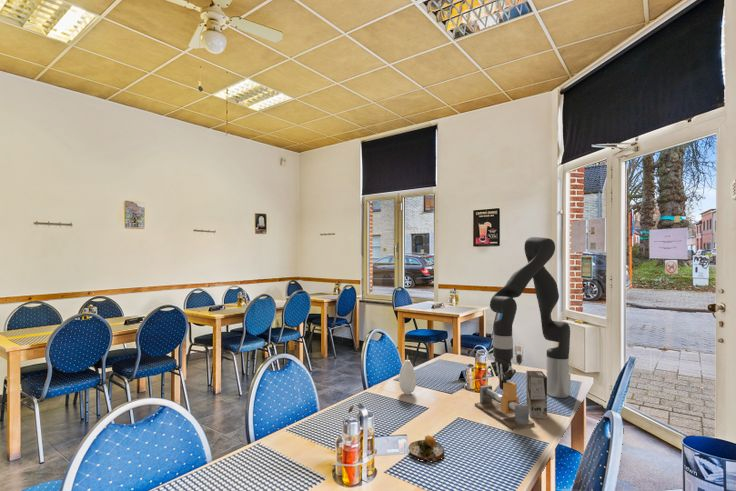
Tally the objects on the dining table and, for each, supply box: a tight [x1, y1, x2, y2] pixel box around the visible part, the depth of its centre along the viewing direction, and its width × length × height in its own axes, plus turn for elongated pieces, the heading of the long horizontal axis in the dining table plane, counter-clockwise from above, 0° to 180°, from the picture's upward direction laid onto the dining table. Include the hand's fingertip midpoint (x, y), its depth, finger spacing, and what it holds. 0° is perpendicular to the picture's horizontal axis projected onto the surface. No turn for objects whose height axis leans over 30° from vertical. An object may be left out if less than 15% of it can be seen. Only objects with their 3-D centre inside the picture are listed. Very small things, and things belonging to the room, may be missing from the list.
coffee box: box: [525, 370, 548, 419], centre depth 166 cm, size 9×6×16 cm
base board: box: [474, 399, 535, 431], centre depth 164 cm, size 24×10×1 cm, turn 20°
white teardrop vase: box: [398, 354, 417, 396], centre depth 187 cm, size 8×8×18 cm
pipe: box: [479, 384, 530, 426], centre depth 164 cm, size 24×5×7 cm, turn 20°
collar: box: [500, 381, 520, 414], centre depth 160 cm, size 3×6×11 cm, turn 110°
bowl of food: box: [408, 434, 445, 462], centre depth 134 cm, size 12×12×8 cm
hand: (502, 389), depth 164 cm, fingers closed
